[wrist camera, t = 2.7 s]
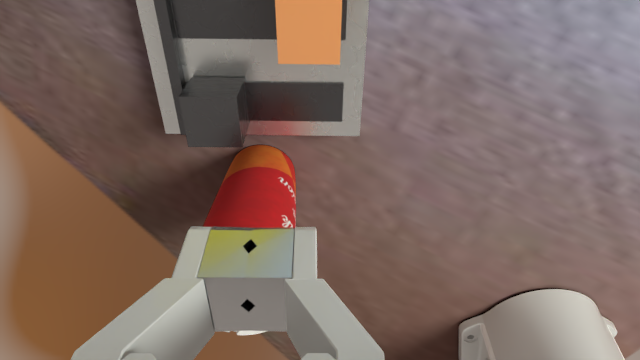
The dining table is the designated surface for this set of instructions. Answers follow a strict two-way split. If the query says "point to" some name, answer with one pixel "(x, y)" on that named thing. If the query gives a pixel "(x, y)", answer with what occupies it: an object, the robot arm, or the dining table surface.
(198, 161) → the dining table surface
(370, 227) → the dining table surface
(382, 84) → the dining table surface
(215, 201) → the coffee cup
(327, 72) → the plate
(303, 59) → the orange cube
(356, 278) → the dining table surface
